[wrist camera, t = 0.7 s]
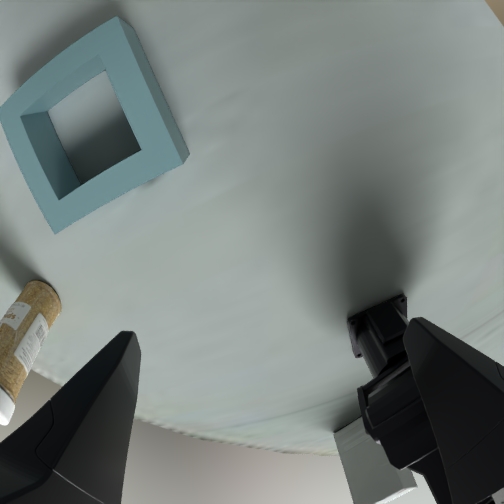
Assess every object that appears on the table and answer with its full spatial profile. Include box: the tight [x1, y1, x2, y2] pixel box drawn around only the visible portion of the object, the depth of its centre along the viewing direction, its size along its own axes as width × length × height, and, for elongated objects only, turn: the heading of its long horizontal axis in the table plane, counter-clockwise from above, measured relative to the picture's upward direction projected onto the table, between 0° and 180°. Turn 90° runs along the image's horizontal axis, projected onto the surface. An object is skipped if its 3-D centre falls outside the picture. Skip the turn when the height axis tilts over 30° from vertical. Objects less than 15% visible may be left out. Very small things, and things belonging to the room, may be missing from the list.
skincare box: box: [333, 417, 417, 504], centre depth 32 cm, size 8×7×16 cm
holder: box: [0, 16, 190, 234], centre depth 15 cm, size 10×10×4 cm
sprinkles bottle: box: [0, 280, 61, 425], centre depth 16 cm, size 5×5×13 cm
